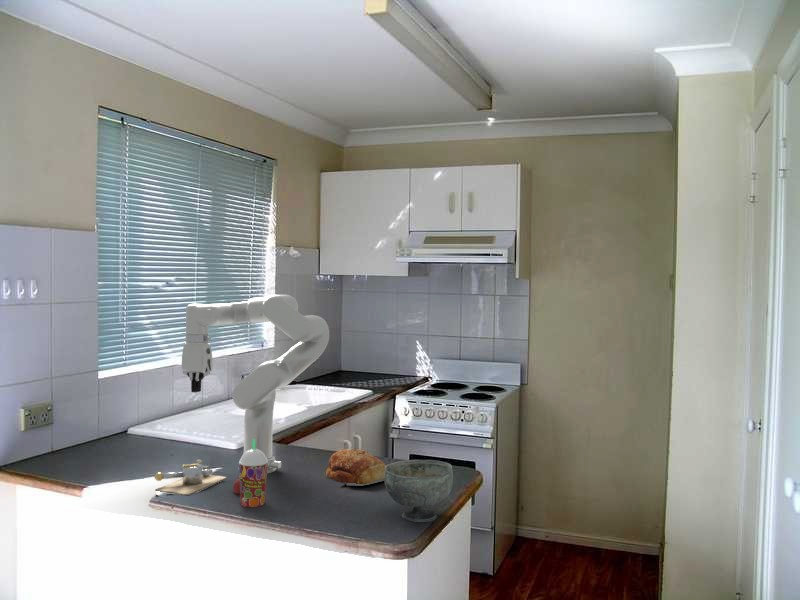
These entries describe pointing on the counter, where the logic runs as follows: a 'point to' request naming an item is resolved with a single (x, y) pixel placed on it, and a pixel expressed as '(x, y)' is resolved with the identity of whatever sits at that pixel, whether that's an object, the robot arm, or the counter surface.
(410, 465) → the bowl
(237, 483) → the fruit
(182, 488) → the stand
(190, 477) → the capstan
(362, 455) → the bread
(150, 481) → the counter surface
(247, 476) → the smoothie
